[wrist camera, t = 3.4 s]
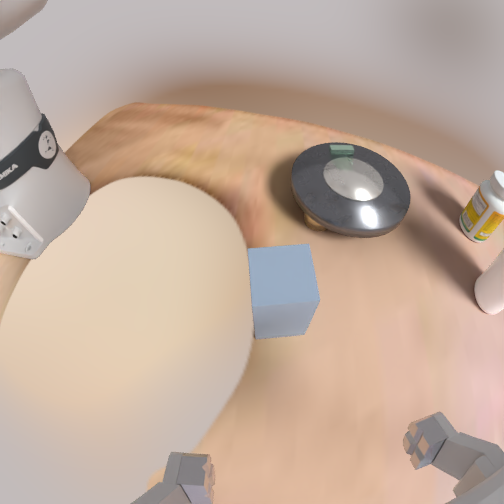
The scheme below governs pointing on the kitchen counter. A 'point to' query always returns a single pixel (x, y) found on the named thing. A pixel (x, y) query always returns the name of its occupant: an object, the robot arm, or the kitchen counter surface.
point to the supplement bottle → (484, 209)
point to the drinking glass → (491, 287)
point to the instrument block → (282, 290)
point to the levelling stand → (349, 190)
